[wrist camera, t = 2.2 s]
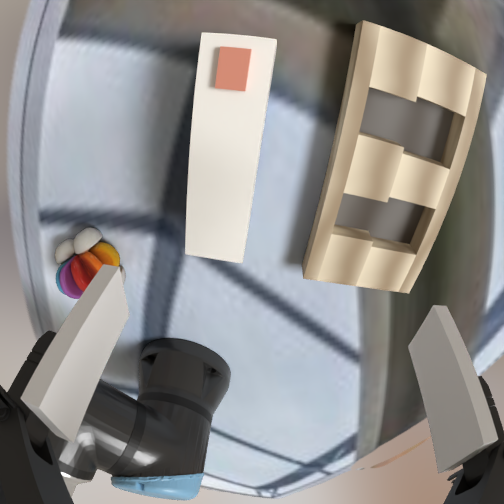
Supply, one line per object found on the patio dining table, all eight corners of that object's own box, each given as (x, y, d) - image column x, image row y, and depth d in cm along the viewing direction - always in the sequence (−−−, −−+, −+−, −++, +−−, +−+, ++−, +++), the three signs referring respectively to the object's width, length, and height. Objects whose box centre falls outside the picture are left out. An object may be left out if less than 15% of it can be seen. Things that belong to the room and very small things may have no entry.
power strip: (202, 217, 32) (183, 258, 26) (220, 41, 22) (199, 31, 16) (249, 224, 32) (241, 267, 26) (276, 47, 22) (276, 38, 16)
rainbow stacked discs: (139, 271, 37) (117, 310, 31) (91, 288, 40) (69, 323, 34) (103, 216, 33) (72, 250, 27) (58, 241, 36) (29, 273, 30)
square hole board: (302, 264, 34) (303, 278, 32) (356, 24, 20) (363, 20, 18) (402, 280, 35) (408, 293, 32) (473, 72, 20) (486, 74, 18)
